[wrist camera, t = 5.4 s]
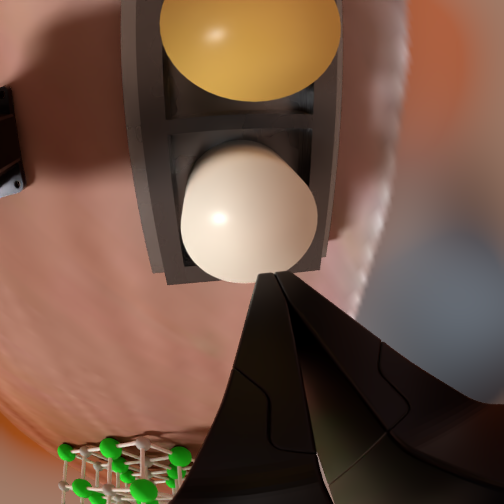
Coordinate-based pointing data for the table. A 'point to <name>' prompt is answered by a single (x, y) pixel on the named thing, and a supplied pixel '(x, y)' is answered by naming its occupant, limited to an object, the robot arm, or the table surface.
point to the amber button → (251, 44)
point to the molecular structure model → (126, 472)
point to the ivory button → (246, 212)
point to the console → (215, 138)
